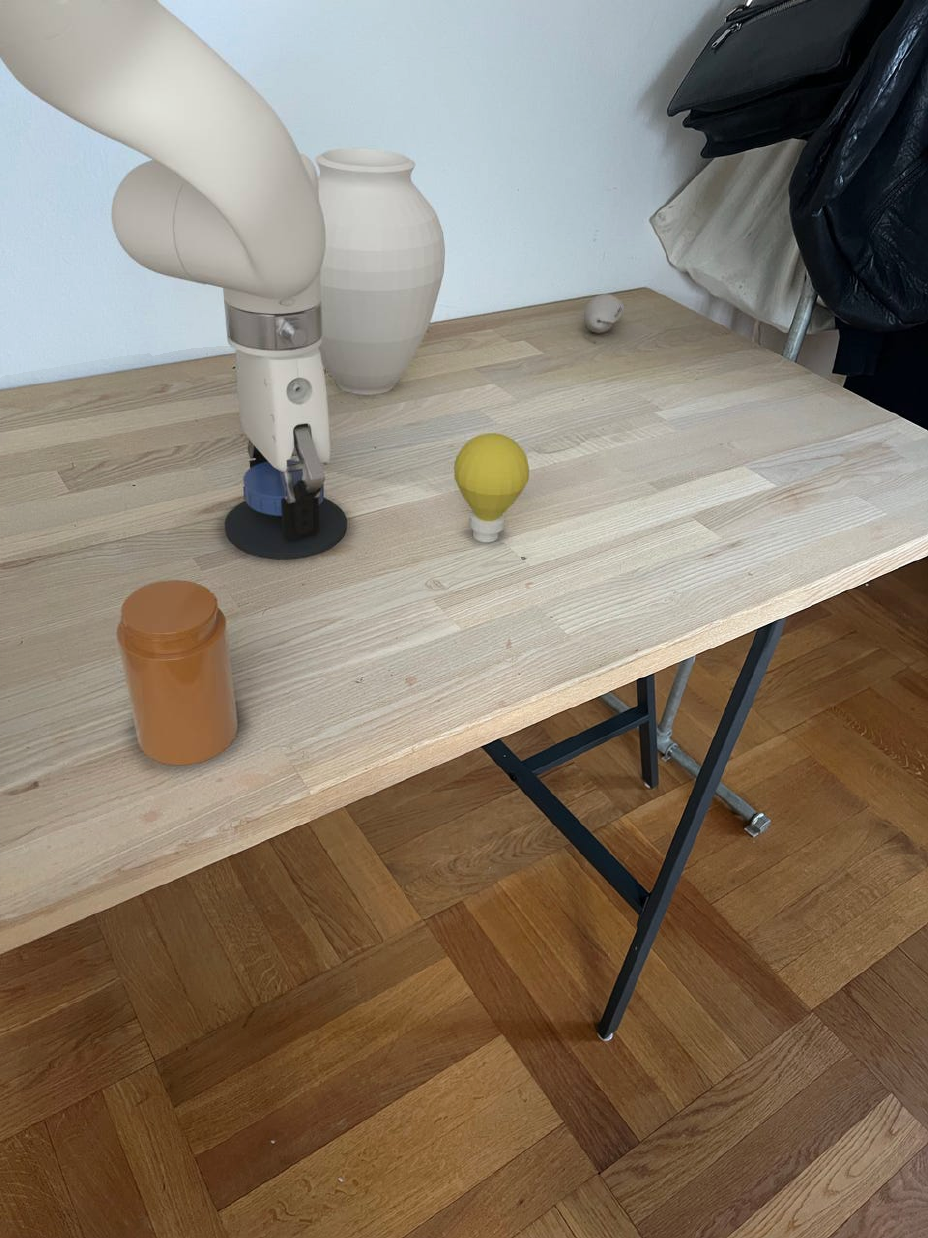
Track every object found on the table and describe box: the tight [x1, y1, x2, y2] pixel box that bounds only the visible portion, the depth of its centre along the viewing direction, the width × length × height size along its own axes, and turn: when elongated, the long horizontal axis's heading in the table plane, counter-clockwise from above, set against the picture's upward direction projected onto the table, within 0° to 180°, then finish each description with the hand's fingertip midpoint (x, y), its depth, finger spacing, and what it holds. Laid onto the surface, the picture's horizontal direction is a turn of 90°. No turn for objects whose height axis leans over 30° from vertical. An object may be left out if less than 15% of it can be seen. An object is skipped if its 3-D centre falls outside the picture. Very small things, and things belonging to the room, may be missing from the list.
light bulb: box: [453, 432, 530, 543], centre depth 83 cm, size 7×7×10 cm
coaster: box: [224, 497, 348, 560], centre depth 85 cm, size 11×11×1 cm
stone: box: [583, 293, 625, 334], centre depth 131 cm, size 10×5×5 cm, turn 165°
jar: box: [116, 579, 239, 766], centre depth 60 cm, size 7×7×11 cm
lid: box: [242, 459, 325, 516], centre depth 83 cm, size 7×7×2 cm
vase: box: [314, 147, 446, 396], centre depth 105 cm, size 18×18×25 cm
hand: (285, 514), depth 84 cm, fingers closed on lid, 6 cm apart
